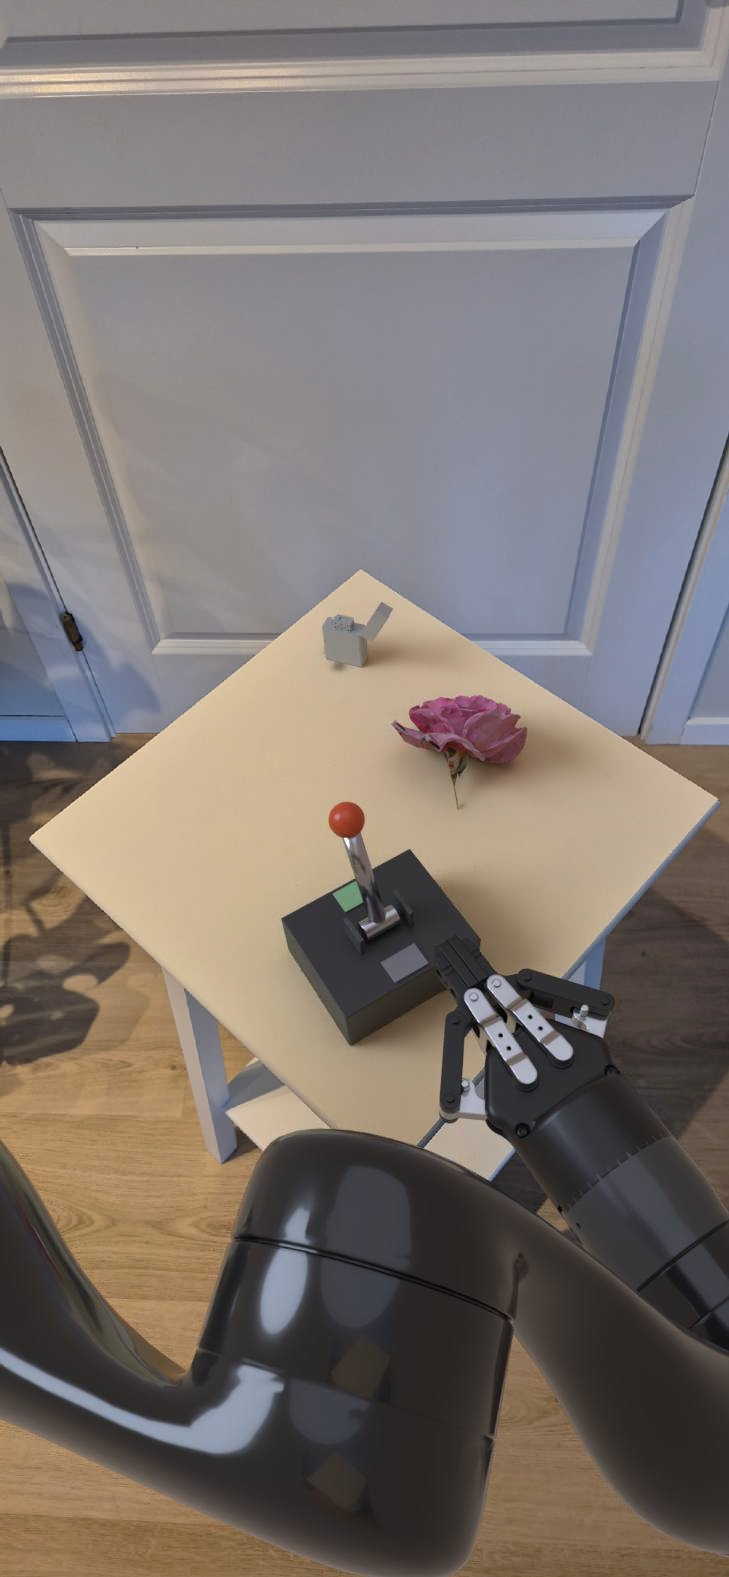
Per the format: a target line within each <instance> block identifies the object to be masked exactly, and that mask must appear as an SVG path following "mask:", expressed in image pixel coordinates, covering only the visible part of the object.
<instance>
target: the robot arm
mask: <svg viewBox="0 0 729 1577" xmlns="http://www.w3.org/2000/svg"><path fill="white" fill-rule="evenodd" d="M434 970H435V974H436V976H437V977H438V978H439V980H440V981H441V982H442V984H443V985H444V986H445V988H446V989H445V990H446V991H447V992H448V994H449V995H450V996H451V998H452V999H453V1000H454V1002H455V1003H456V1005H457V1006H456V1007H455V1008H454V1009H453V1010H452V1011H449V1012H448V1013H447V1014H446V1016H445V1020H444V1032H443V1045H442V1046H443V1047H442V1048H443V1049H442V1057H441V1058H442V1060H441V1072H440V1085H439V1086H440V1087H439V1098H438V1099H439V1101H438V1102H439V1104H438V1115H439V1118H440V1120H441V1121H442V1122H443V1123H445V1124H450V1125H451V1124H454V1123H457V1121H458V1120H459V1119H464V1120H473V1121H484V1122H485V1124H486V1126H487V1127H488V1128H489V1130H491V1131H492V1133H494V1134H496V1135H498V1136H500V1137H502V1138H503V1139H504V1140H506V1141H507V1142H508V1143H509V1144H510V1146H512V1148H513V1150H515V1152H516V1154H517V1155H518V1157H519V1158H520V1159H521V1161H522V1162H523V1164H524V1165H525V1166H526V1168H527V1170H528V1171H529V1173H531V1175H532V1176H533V1178H534V1179H535V1181H536V1182H537V1183H538V1185H539V1186H540V1188H541V1189H542V1191H543V1192H544V1194H545V1195H546V1196H547V1198H548V1200H549V1201H550V1202H551V1203H552V1205H553V1206H554V1208H555V1209H556V1211H557V1212H558V1214H559V1215H560V1216H561V1218H562V1219H563V1220H564V1222H565V1223H566V1225H567V1227H568V1231H569V1232H570V1234H571V1235H572V1237H573V1238H574V1239H575V1241H574V1240H572V1238H570V1237H568V1236H567V1235H566V1234H564V1232H562V1231H561V1230H559V1229H558V1228H556V1226H554V1225H553V1224H552V1223H550V1222H549V1221H548V1220H546V1219H544V1218H543V1217H542V1216H540V1215H539V1214H538V1213H537V1212H535V1211H534V1210H533V1209H531V1208H530V1207H528V1206H527V1205H526V1204H524V1203H523V1202H522V1201H521V1200H519V1199H518V1198H516V1197H515V1196H514V1195H512V1194H511V1193H509V1192H508V1191H506V1190H504V1189H503V1188H502V1187H500V1186H499V1185H497V1184H495V1183H494V1182H492V1181H491V1180H489V1179H487V1178H486V1177H484V1176H482V1175H480V1174H478V1173H476V1172H475V1171H473V1170H471V1169H469V1168H468V1167H466V1166H464V1165H462V1164H460V1163H458V1162H456V1161H455V1160H452V1159H450V1158H448V1157H446V1156H443V1155H441V1154H438V1153H436V1152H434V1151H431V1150H428V1149H426V1148H423V1147H420V1146H418V1145H416V1144H413V1143H409V1142H406V1141H403V1140H398V1139H395V1138H391V1137H387V1136H383V1135H378V1134H375V1133H370V1132H365V1131H360V1130H359V1131H358V1130H352V1129H341V1128H337V1129H336V1128H324V1127H323V1128H321V1127H320V1128H319V1127H317V1128H307V1129H298V1130H295V1131H291V1132H288V1133H285V1134H283V1135H280V1136H278V1137H276V1138H275V1139H273V1140H272V1141H270V1143H269V1144H268V1145H267V1146H266V1148H264V1149H263V1151H262V1153H261V1154H260V1156H259V1157H258V1160H257V1161H256V1163H255V1165H254V1167H253V1170H252V1172H251V1175H250V1177H249V1180H248V1182H247V1185H246V1188H245V1190H244V1193H243V1195H242V1198H241V1201H240V1204H239V1207H238V1210H237V1214H236V1216H235V1220H234V1222H233V1226H232V1230H231V1233H230V1235H229V1238H230V1240H231V1241H230V1242H228V1243H227V1244H226V1247H225V1248H226V1249H225V1251H224V1254H223V1259H222V1261H221V1264H220V1267H219V1271H218V1275H217V1277H216V1281H215V1283H214V1287H213V1290H212V1293H211V1296H210V1300H209V1303H208V1306H207V1310H206V1313H205V1316H204V1320H203V1323H202V1325H201V1328H200V1332H199V1336H198V1339H197V1342H196V1347H197V1348H196V1349H195V1352H194V1354H193V1357H192V1361H191V1363H190V1365H189V1367H188V1369H185V1368H184V1367H183V1366H182V1365H181V1364H178V1363H177V1362H176V1361H174V1360H173V1359H171V1358H170V1357H168V1356H167V1355H165V1354H164V1353H163V1352H161V1351H160V1350H159V1349H158V1348H156V1347H155V1346H154V1344H152V1343H151V1342H149V1341H148V1340H147V1339H146V1338H145V1337H143V1336H142V1334H140V1333H139V1331H137V1330H136V1329H135V1328H134V1327H133V1326H131V1325H130V1323H128V1322H127V1321H126V1320H125V1318H123V1317H122V1316H121V1315H120V1313H119V1312H118V1311H117V1310H116V1309H115V1308H114V1307H113V1305H112V1304H111V1303H110V1302H109V1301H108V1300H107V1299H106V1298H105V1296H104V1295H103V1294H102V1293H101V1291H100V1290H99V1289H98V1287H97V1286H96V1285H95V1284H94V1282H93V1281H92V1279H91V1278H90V1277H89V1275H87V1273H86V1272H85V1270H84V1269H83V1267H82V1265H81V1264H80V1262H79V1261H78V1259H77V1257H76V1256H75V1255H74V1253H73V1251H72V1249H71V1248H70V1247H69V1245H68V1243H67V1241H66V1239H65V1238H64V1235H63V1234H62V1232H61V1231H60V1230H61V1229H60V1228H59V1227H58V1224H57V1223H56V1221H55V1220H54V1218H53V1215H52V1214H51V1212H50V1211H49V1209H48V1207H47V1205H46V1203H45V1201H44V1200H43V1198H42V1196H41V1195H40V1193H39V1190H38V1189H37V1187H36V1186H35V1184H34V1183H33V1182H32V1181H33V1180H31V1179H30V1176H28V1174H27V1172H26V1170H25V1169H24V1167H23V1166H22V1165H21V1163H20V1162H19V1161H18V1159H17V1158H16V1156H15V1155H14V1154H13V1153H12V1151H11V1150H10V1149H9V1147H8V1146H7V1144H5V1142H4V1141H3V1140H2V1139H1V1138H0V1420H1V1421H3V1422H5V1423H7V1424H10V1425H12V1426H15V1427H17V1428H20V1429H22V1430H24V1431H26V1432H29V1433H31V1434H33V1435H35V1436H37V1437H39V1438H41V1439H44V1440H46V1441H48V1442H51V1443H52V1444H54V1445H57V1446H58V1447H61V1448H63V1449H65V1450H67V1451H70V1452H71V1453H74V1454H76V1455H78V1456H80V1457H82V1458H83V1459H87V1460H88V1461H90V1462H93V1463H95V1464H97V1465H100V1466H101V1467H103V1468H105V1469H108V1470H109V1471H112V1472H114V1473H116V1474H118V1475H120V1476H123V1477H124V1478H127V1479H129V1480H131V1481H133V1482H134V1483H137V1484H139V1485H141V1486H143V1487H145V1488H148V1489H150V1490H152V1491H153V1492H156V1493H158V1494H160V1495H162V1496H165V1497H167V1498H168V1499H171V1500H173V1501H175V1502H177V1503H179V1504H181V1505H183V1506H185V1507H187V1508H190V1509H192V1510H194V1511H195V1512H198V1513H201V1514H202V1515H205V1516H206V1517H208V1518H210V1519H213V1520H215V1521H217V1522H220V1523H222V1524H224V1525H226V1526H229V1527H231V1528H233V1529H236V1530H238V1531H240V1532H242V1533H245V1534H247V1535H248V1536H249V1535H250V1536H251V1537H253V1538H256V1539H258V1540H260V1541H263V1542H265V1543H267V1544H269V1545H272V1546H274V1547H277V1548H279V1549H280V1550H284V1551H286V1552H288V1553H291V1554H293V1555H296V1556H298V1557H301V1558H303V1559H306V1560H309V1561H312V1562H315V1563H317V1564H320V1565H323V1566H326V1567H329V1568H331V1569H334V1570H337V1571H342V1572H345V1573H349V1574H353V1575H357V1576H360V1577H450V1576H453V1575H454V1574H455V1573H457V1572H459V1571H460V1570H461V1569H462V1568H463V1567H464V1566H465V1565H466V1563H467V1562H468V1561H469V1559H470V1557H471V1555H472V1553H473V1552H474V1549H475V1546H476V1543H477V1540H478V1537H479V1532H480V1529H481V1526H482V1519H483V1516H484V1511H485V1507H486V1501H487V1495H488V1489H489V1485H490V1478H491V1474H492V1467H493V1461H494V1455H495V1447H496V1441H495V1439H497V1438H498V1437H497V1436H498V1432H499V1425H500V1418H501V1412H502V1406H503V1401H504V1400H503V1399H504V1395H505V1394H504V1393H505V1387H506V1382H507V1375H508V1369H509V1363H510V1357H511V1350H512V1345H513V1338H514V1337H515V1339H516V1340H517V1341H518V1342H519V1344H520V1345H521V1347H522V1348H523V1349H524V1351H525V1352H526V1354H527V1355H528V1356H529V1357H530V1359H531V1360H532V1361H533V1363H534V1364H535V1366H536V1368H537V1369H538V1370H539V1372H540V1374H541V1375H542V1377H543V1379H544V1381H545V1382H546V1384H547V1385H548V1387H549V1389H550V1390H551V1392H552V1394H553V1395H554V1397H555V1399H556V1401H557V1403H558V1404H559V1406H560V1408H561V1410H562V1412H563V1414H564V1415H565V1418H566V1419H567V1421H568V1423H569V1424H570V1426H571V1428H572V1429H573V1431H574V1433H575V1435H576V1436H577V1438H578V1440H579V1441H580V1443H581V1445H582V1446H583V1448H584V1449H585V1451H586V1453H587V1454H588V1457H589V1458H590V1460H591V1461H592V1462H593V1463H592V1464H594V1466H595V1468H596V1469H597V1471H598V1472H599V1473H600V1475H601V1476H602V1478H603V1479H604V1481H605V1482H606V1483H607V1484H608V1486H609V1487H610V1488H611V1489H612V1490H613V1491H614V1492H615V1494H616V1495H617V1496H618V1497H619V1498H620V1500H621V1501H622V1502H623V1503H624V1504H625V1505H626V1506H627V1508H629V1509H630V1510H631V1511H632V1512H633V1513H634V1514H635V1515H636V1516H637V1517H639V1518H640V1519H641V1520H643V1521H644V1522H645V1523H646V1524H647V1525H649V1526H650V1527H652V1528H653V1529H655V1530H656V1531H658V1532H659V1534H660V1533H661V1534H662V1535H664V1536H666V1537H668V1538H670V1539H672V1540H674V1541H675V1542H678V1543H680V1544H683V1545H685V1546H687V1547H689V1548H693V1549H696V1550H698V1551H699V1550H700V1551H703V1552H707V1553H711V1554H713V1555H717V1556H720V1557H725V1558H727V1559H729V1210H728V1209H727V1207H726V1206H725V1205H724V1203H723V1201H722V1200H721V1198H720V1196H719V1194H718V1193H717V1192H716V1190H715V1188H714V1187H713V1185H712V1184H711V1182H710V1181H709V1179H708V1178H707V1177H706V1175H705V1174H704V1172H703V1171H702V1170H701V1168H700V1167H699V1166H698V1165H697V1164H696V1163H695V1161H694V1160H693V1159H692V1157H691V1156H690V1155H689V1154H688V1152H687V1151H686V1149H684V1147H683V1146H682V1145H681V1144H680V1142H679V1141H678V1140H677V1139H676V1137H675V1136H674V1135H673V1134H672V1133H671V1131H670V1130H669V1129H668V1127H666V1125H665V1124H664V1122H662V1120H661V1119H660V1117H659V1116H658V1115H657V1114H656V1113H655V1111H654V1110H653V1109H652V1108H651V1107H650V1105H649V1104H648V1103H647V1101H646V1100H645V1099H644V1098H643V1097H642V1095H641V1094H640V1092H638V1090H637V1089H636V1088H635V1086H634V1085H633V1084H632V1083H631V1082H630V1080H629V1079H628V1077H626V1076H625V1074H623V1073H622V1072H621V1070H620V1069H618V1067H617V1066H616V1063H615V1061H614V1058H613V1053H612V1049H611V1046H610V1045H609V1043H608V1042H607V1041H606V1039H605V1038H604V1036H605V1032H606V1028H607V1025H608V1024H609V1022H610V1020H611V1016H612V1014H613V1010H614V1009H615V1008H614V1007H615V1004H616V999H615V997H614V996H613V994H611V993H610V992H607V991H604V990H601V989H597V988H594V987H591V986H587V985H584V984H582V983H581V984H580V983H578V982H575V981H571V980H568V979H564V978H561V977H558V976H554V975H551V974H549V973H545V972H541V971H538V970H535V969H531V968H526V967H525V968H521V969H520V970H519V971H517V973H514V974H509V975H504V974H500V973H498V971H496V970H495V968H494V967H493V966H492V964H491V963H490V962H489V960H487V958H486V957H485V955H484V954H483V953H482V951H481V949H480V950H478V948H477V947H476V945H475V944H474V943H473V942H472V941H470V940H469V939H467V938H465V939H463V940H460V938H459V937H458V936H457V935H456V934H454V935H452V936H451V937H449V938H447V939H446V940H444V941H442V942H440V943H439V944H437V945H436V946H435V956H434ZM539 1010H542V1011H545V1012H548V1013H551V1014H554V1015H558V1016H561V1017H564V1018H567V1019H571V1022H572V1025H569V1024H567V1023H564V1022H561V1021H559V1020H556V1019H553V1018H549V1017H544V1016H543V1015H542V1014H541V1013H540V1012H539ZM573 1025H574V1026H573ZM470 1032H472V1034H473V1036H474V1037H475V1039H476V1040H477V1043H478V1047H479V1049H480V1051H481V1052H482V1054H483V1056H484V1057H485V1059H484V1066H483V1098H482V1097H481V1096H479V1095H478V1093H477V1090H476V1084H475V1083H474V1081H473V1080H471V1079H470V1078H467V1077H463V1070H464V1056H465V1054H464V1053H465V1039H466V1037H467V1035H468V1034H469V1033H470Z"/></svg>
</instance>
